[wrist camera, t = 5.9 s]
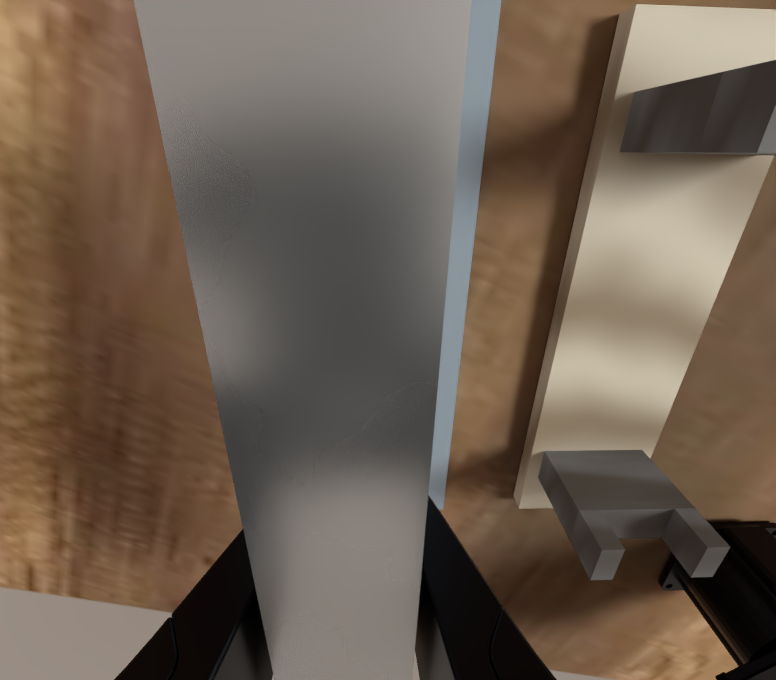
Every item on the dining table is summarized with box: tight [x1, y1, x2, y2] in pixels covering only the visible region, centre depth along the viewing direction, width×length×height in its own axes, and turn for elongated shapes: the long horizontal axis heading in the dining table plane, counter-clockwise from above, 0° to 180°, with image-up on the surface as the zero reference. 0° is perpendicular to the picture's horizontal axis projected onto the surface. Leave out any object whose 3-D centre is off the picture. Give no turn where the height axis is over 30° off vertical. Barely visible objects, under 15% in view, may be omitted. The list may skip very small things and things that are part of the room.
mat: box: [428, 0, 501, 509], centre depth 19 cm, size 25×10×1 cm, turn 179°
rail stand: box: [513, 4, 776, 580], centre depth 16 cm, size 24×7×7 cm, turn 179°
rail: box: [134, 0, 472, 680], centre depth 7 cm, size 22×2×2 cm, turn 179°
